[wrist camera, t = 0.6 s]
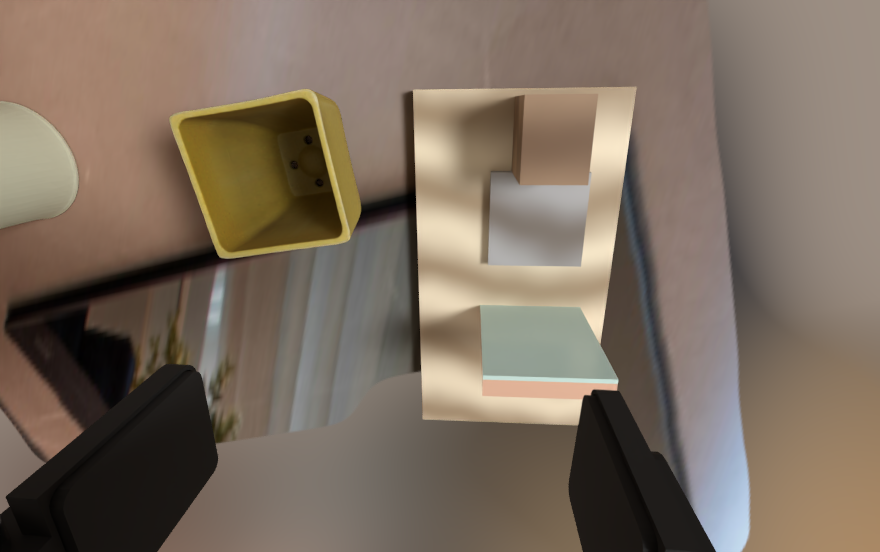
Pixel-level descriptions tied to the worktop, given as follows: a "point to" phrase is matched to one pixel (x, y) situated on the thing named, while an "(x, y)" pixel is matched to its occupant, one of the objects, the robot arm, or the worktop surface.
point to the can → (33, 167)
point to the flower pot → (270, 173)
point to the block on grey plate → (544, 183)
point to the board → (466, 243)
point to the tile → (541, 353)
